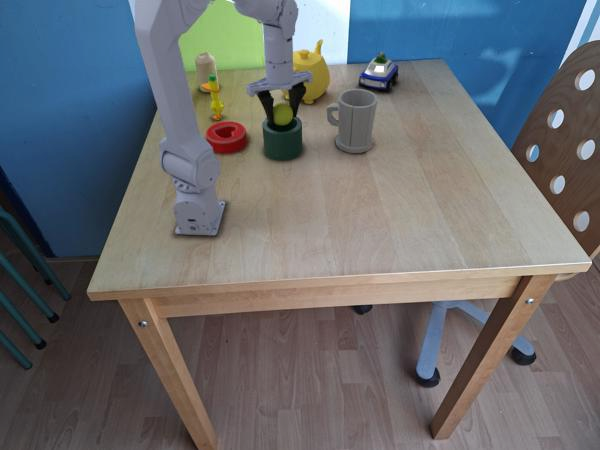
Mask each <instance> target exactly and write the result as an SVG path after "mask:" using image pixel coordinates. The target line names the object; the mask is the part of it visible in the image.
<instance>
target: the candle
mask: <svg viewBox="0 0 600 450" xmlns="http://www.w3.org/2000/svg"><path fill="white" fill-rule="evenodd" d="M194 64H195V65H194V66H195V69H196V75H197V80H198V86H199V90H200V91H201V92H202V93H203V92H204V93H210V92H209V91H206V90H204V89H203V88H202V86H201V85H202V84H205V83H209V82H208V81H209V80H208V78H209V75H210V74H215V75H216V78H217V82H218V87H219V88H220V84H219V79H218V71H217V65H216V59H215V57H214V56H213V55H212V54H210V53H209V52H207V51H205V52H203V53H201V52H200V53H197V55H196V57H195V58H194Z"/></svg>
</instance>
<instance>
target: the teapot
mask: <svg viewBox="0 0 600 450" xmlns="http://www.w3.org/2000/svg"><path fill="white" fill-rule="evenodd" d="M323 43H324V40H323V39H319V40H318V41H317V42H316V44H315V47H314V50H313V51H310V50H309V49H300V50H295V51H293V72H303V71H310V72H311V73H312V74H313V82H312V83H307V82H306V83H304V86H305V87H306V93H305V95H304V96H303V98H302V100H304V103H305V104H307V105H312V104H313V103H314V100H316V99H319V98H320V97H321V96H322V95H323V94H324V93H325V92H326V91H327V89H328V88H329V86H330V84H331V83H330V82H331V76H330V70H329V67H328V64H327V62H326V59H325V58H324V56H323V55H322V45H323ZM279 90H280V91H281V92H282V94H284V95H285V99H287V100H289V93H288V90H286V91H284V90H282V89H279Z"/></svg>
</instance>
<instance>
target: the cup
mask: <svg viewBox="0 0 600 450" xmlns="http://www.w3.org/2000/svg"><path fill="white" fill-rule="evenodd" d="M378 102H379V98H378V96H377V94H375V93H374V92H372V91H370V90H368V89H363V88H351V89H346V90H344V91H341V93H339V95H338V97H337V103H330V104H329V105H328V106H327V107H326V121H327V123H328V124H329V125H330V126H333V127H337V135H336V137H335V144H336V146H337V148H338V149H340V150H341V151H343V152H345V153H349V154H361V153H365V152H367V151H369V150H370V149H371V148H372V147H373V143H374V139H373V128H374V121H375V116H376V112H377V107H378ZM333 112H337V113H338V117H337V118H338V119H336V117H335V116H334V114H333Z"/></svg>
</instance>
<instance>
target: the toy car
mask: <svg viewBox="0 0 600 450" xmlns="http://www.w3.org/2000/svg"><path fill="white" fill-rule="evenodd" d="M399 68H400V67H399V65H398V64H395V63H394V62H393V61H392V60H391V59H388V58H387V55H386V53H385V52H383V51H379V52H378V54H377V55H376V57H374V58H372V60H371V61H370V62H369V64H368V65H367V67H366V68H365V69H364V70H363V71H362V72H361V73H360V74H359V78H358V86H360V87H365V88H368V87H370V88H375V89H380V90H381V91H384V92H388V93H389V92H391V90H392V88H393V85H396V84H397V82H398V79H399Z"/></svg>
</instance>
